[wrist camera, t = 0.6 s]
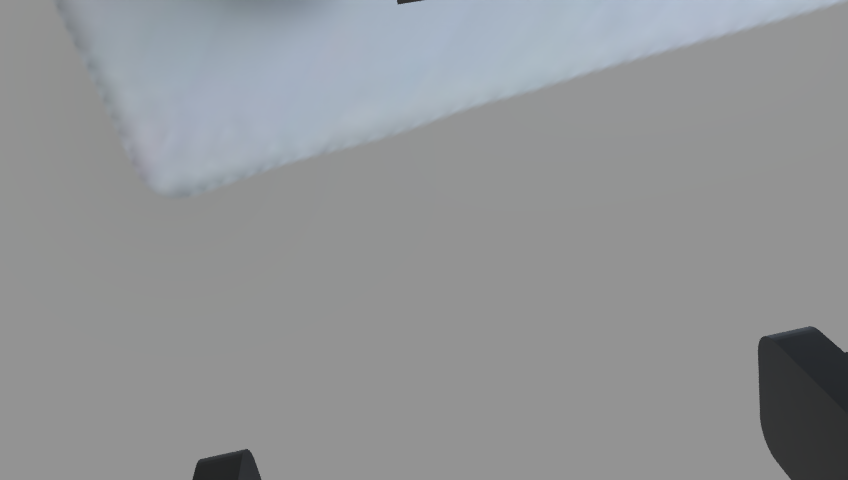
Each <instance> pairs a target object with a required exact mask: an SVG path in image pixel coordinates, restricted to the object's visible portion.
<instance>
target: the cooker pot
mask: <svg viewBox="0 0 848 480" xmlns="http://www.w3.org/2000/svg"><path fill="white" fill-rule="evenodd" d="M416 1H422V0H397V3H398V4H403V3H409V2H416Z"/></svg>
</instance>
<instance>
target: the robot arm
mask: <svg viewBox="0 0 848 480" xmlns="http://www.w3.org/2000/svg"><path fill="white" fill-rule="evenodd" d="M758 364H759V395H760V420H761V426H762V431H763V434H764V438H765V440H766V443H767V445H768V448H769V450H770V451H771V454H772V455H773V457H774V458H775V460H776V461H777V462H778V463H779V465H780V466H781V468H782V469H783V470H784V471H785V473H786V474H787V475H788V476H789V478H790V479H791V480H848V352H846V353H844V352H843V351H842V350H841V349H840V348H839V347H837V346H836V345H835V344H834V343H833V342H832V341H830V340H829V339H828V338H827V337H826V336H825V335H823V333H821V332H820V331H819V330H818V329H816V328H814V327H811V326H809V327H805V328H800V329H796V330H792V331H787V332H782V333H778V334H773V335H769V336H764V337H762V338H761V340H760V341H759V346H758ZM193 480H261V477H260V474H259V471H258V468H257V466H256V463H255V460H254V457H253V455H252V453H251V452H250V451H249V450H248V449H245V450H240V451H236V452H231V453H227V454H222V455H218V456H213V457H208V458H204V459H200V460H199V461H198V463H197V465H196V468H195V472H194V476H193Z"/></svg>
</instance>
